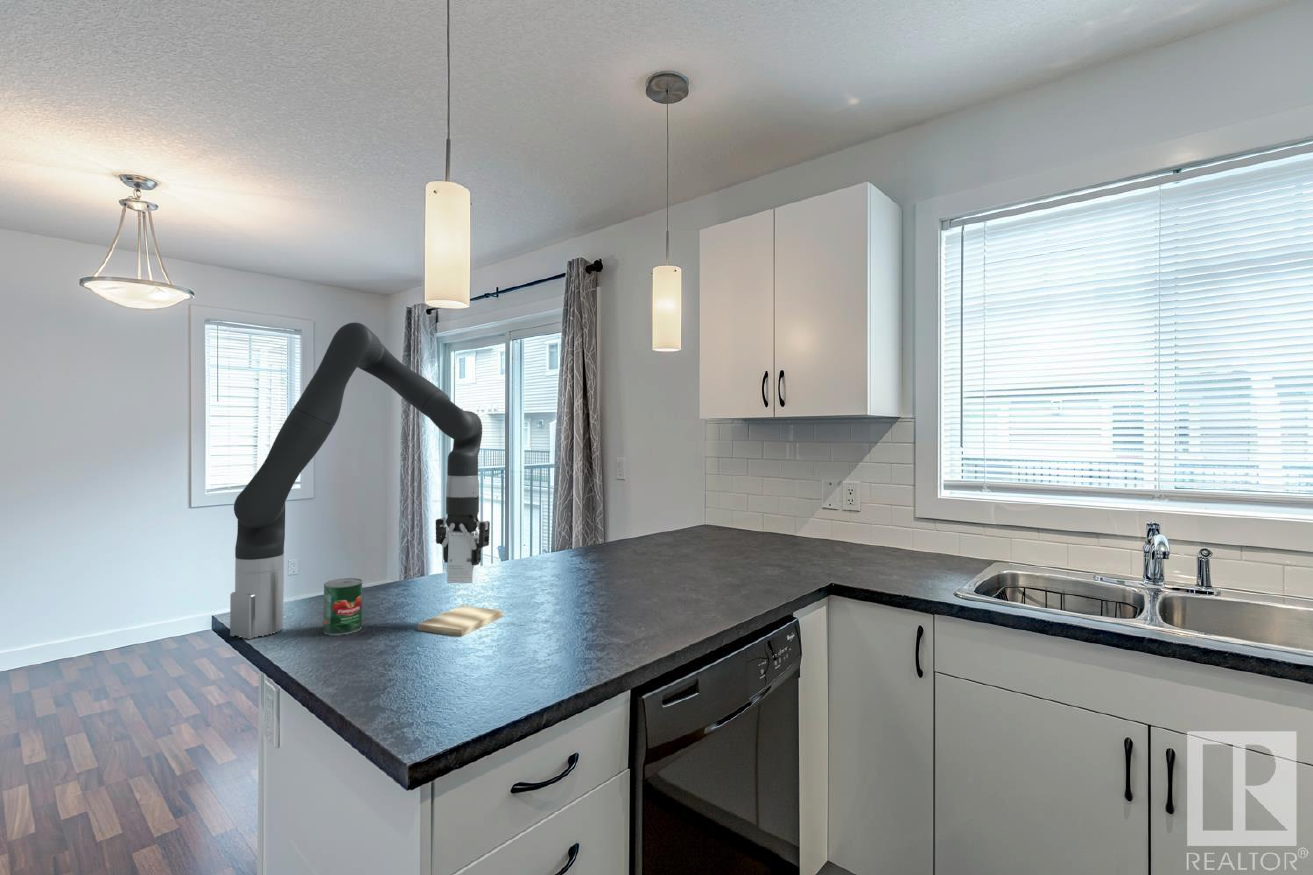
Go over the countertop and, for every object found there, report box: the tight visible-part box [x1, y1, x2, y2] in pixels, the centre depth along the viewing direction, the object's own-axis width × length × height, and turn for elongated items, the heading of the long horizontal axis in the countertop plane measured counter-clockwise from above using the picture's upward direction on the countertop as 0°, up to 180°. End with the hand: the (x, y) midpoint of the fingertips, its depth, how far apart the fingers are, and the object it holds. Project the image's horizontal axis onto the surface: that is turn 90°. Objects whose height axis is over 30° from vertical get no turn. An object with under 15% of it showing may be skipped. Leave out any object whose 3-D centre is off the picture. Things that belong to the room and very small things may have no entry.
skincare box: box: [446, 531, 477, 584], centre depth 146 cm, size 6×4×12 cm
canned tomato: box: [323, 577, 363, 636], centre depth 140 cm, size 8×8×11 cm
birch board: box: [417, 605, 504, 637], centre depth 146 cm, size 16×12×2 cm
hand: (462, 563), depth 146 cm, fingers closed on skincare box, 7 cm apart
